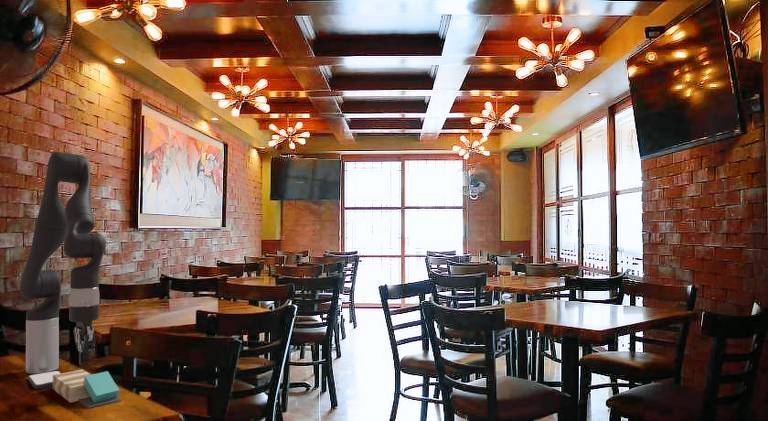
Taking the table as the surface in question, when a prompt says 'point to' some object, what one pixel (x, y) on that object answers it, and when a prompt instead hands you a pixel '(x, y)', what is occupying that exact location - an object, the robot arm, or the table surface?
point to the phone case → (42, 380)
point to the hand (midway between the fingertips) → (84, 364)
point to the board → (71, 385)
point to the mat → (90, 403)
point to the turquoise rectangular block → (101, 386)
